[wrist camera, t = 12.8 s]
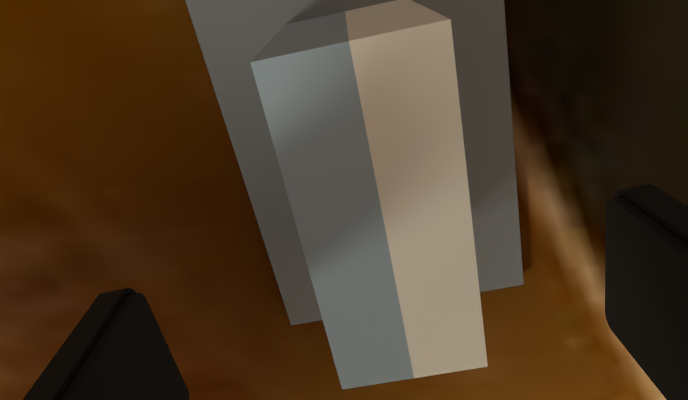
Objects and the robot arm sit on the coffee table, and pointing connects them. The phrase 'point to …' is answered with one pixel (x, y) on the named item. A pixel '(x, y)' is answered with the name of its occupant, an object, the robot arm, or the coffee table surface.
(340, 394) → the coffee table surface
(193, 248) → the coffee table surface
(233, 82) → the mat
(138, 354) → the robot arm
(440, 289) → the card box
